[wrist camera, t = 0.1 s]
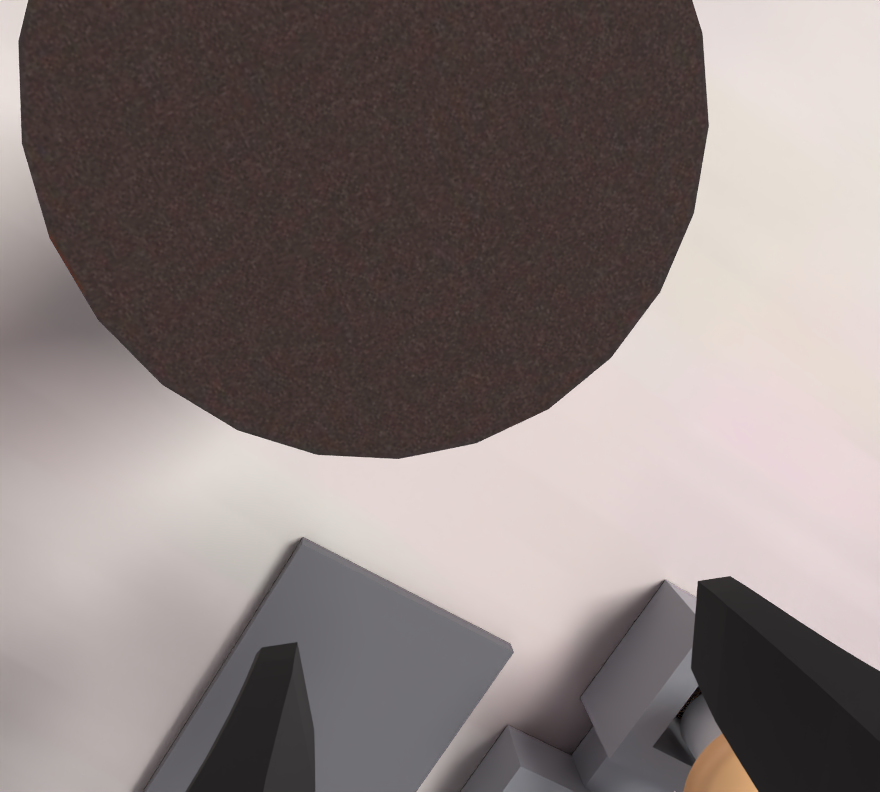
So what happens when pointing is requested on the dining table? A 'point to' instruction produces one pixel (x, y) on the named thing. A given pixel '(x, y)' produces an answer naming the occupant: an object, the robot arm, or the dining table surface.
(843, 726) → the robot arm
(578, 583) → the dining table surface
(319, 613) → the mat
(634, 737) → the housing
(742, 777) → the plunger
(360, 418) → the deodorant
